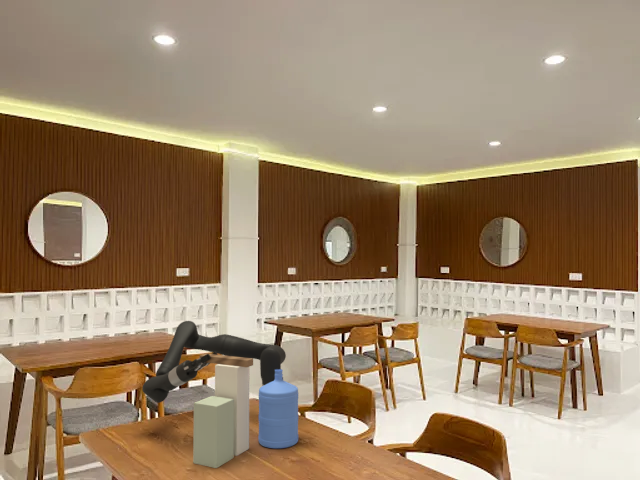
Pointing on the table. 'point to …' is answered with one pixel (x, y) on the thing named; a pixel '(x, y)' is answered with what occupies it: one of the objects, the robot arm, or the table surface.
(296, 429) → the water jug
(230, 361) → the walnut plank
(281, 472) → the table surface
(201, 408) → the sage step
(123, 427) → the table surface
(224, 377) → the off-white stand
